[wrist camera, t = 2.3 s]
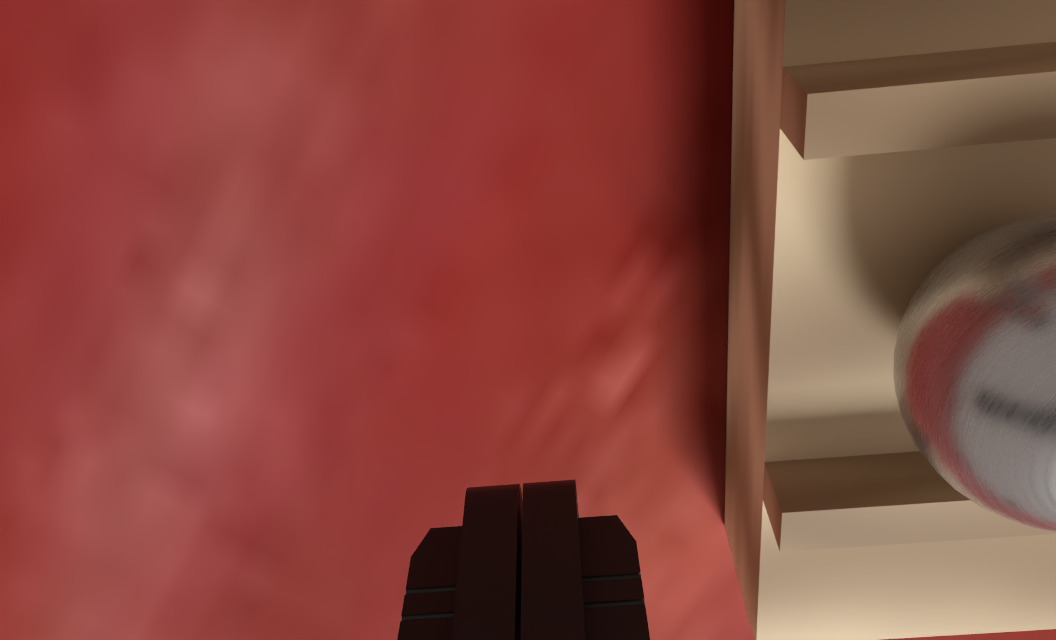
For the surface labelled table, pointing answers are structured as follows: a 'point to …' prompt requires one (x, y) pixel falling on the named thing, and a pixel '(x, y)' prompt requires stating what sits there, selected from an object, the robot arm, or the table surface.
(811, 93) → the wooden stepped tray
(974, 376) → the ball
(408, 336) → the table surface
